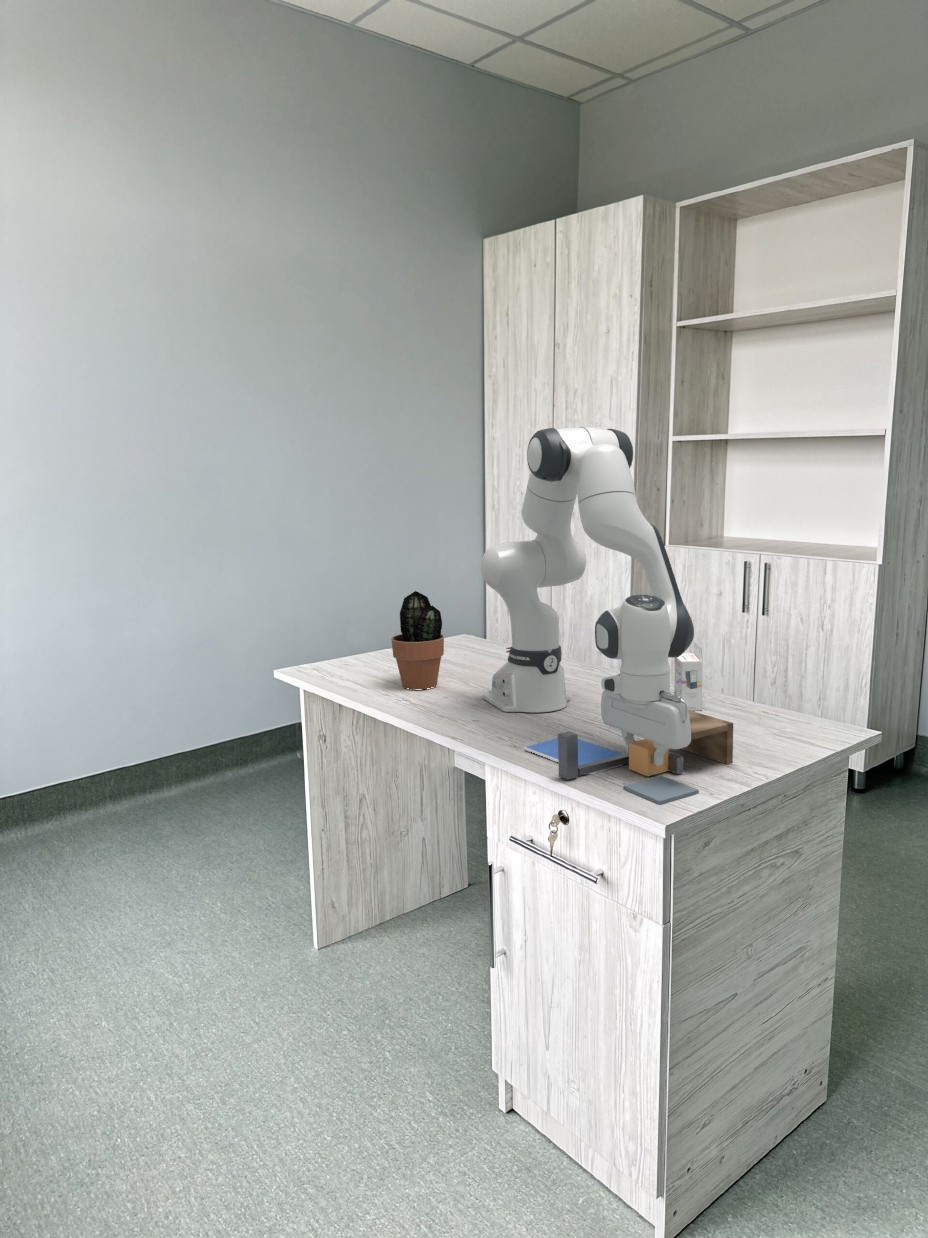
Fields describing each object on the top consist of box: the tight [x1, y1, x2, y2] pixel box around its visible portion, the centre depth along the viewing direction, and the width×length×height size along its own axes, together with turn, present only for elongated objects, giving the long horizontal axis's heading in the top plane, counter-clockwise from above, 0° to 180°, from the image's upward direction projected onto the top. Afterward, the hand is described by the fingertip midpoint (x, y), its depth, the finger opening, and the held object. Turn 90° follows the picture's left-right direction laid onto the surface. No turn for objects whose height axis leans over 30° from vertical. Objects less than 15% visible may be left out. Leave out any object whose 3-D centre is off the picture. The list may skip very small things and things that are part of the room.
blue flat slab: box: [524, 737, 629, 775], centre depth 176 cm, size 19×13×1 cm, turn 36°
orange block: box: [628, 738, 669, 777], centre depth 165 cm, size 5×5×5 cm
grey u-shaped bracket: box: [557, 730, 684, 781], centre depth 163 cm, size 12×19×8 cm, turn 121°
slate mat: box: [622, 775, 700, 806], centre depth 155 cm, size 9×9×1 cm
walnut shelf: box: [680, 710, 734, 765], centre depth 171 cm, size 13×10×8 cm
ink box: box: [673, 640, 703, 712], centre depth 207 cm, size 9×5×15 cm, turn 178°
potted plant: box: [391, 590, 445, 689], centre depth 233 cm, size 14×14×25 cm
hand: (644, 759), depth 164 cm, fingers closed on orange block, 5 cm apart
